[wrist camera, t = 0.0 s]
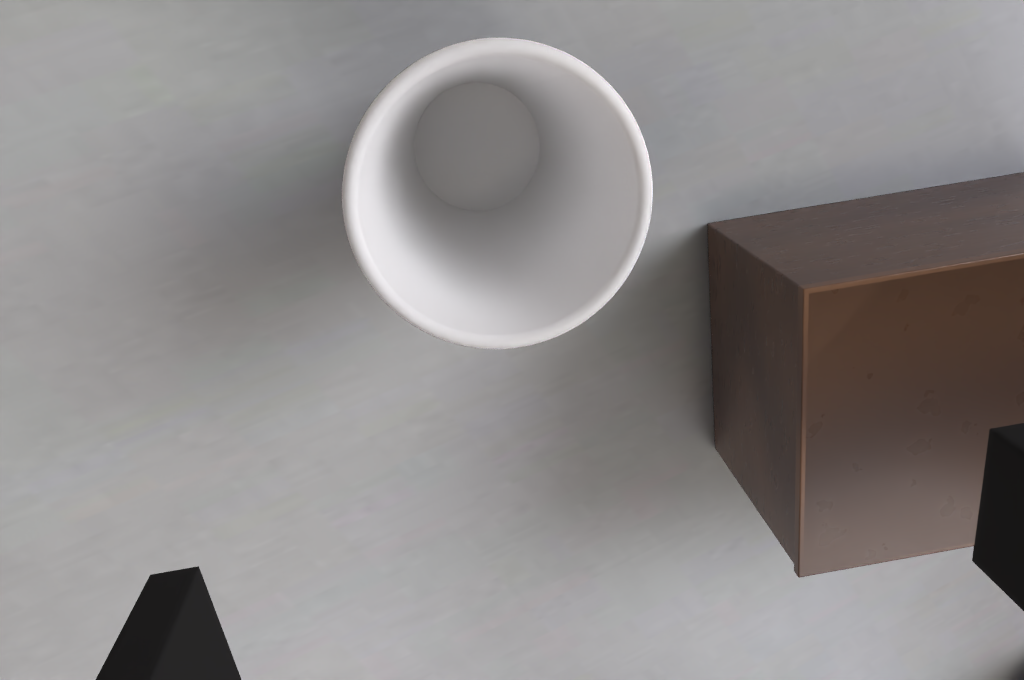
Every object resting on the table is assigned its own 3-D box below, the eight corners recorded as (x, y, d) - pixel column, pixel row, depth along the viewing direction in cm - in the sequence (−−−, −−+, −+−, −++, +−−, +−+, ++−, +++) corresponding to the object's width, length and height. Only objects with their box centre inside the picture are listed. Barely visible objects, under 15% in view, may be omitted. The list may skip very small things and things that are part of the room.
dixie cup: (347, 206, 29) (301, 297, 19) (412, 1, 27) (401, -20, 17) (532, 272, 31) (580, 387, 21) (610, 85, 29) (707, 113, 18)
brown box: (704, 221, 31) (803, 288, 23) (1031, 168, 32) (1244, 216, 23) (712, 450, 35) (798, 578, 27) (1000, 400, 36) (1170, 511, 28)
